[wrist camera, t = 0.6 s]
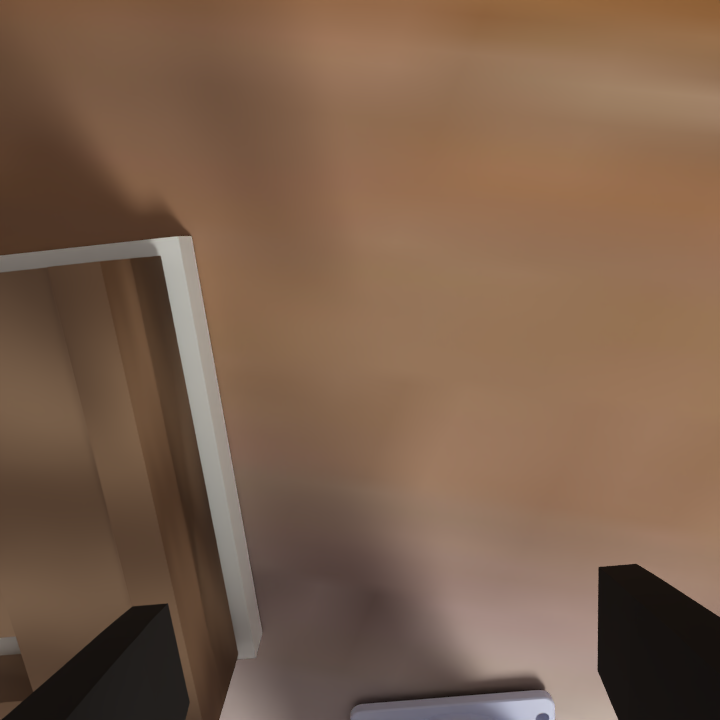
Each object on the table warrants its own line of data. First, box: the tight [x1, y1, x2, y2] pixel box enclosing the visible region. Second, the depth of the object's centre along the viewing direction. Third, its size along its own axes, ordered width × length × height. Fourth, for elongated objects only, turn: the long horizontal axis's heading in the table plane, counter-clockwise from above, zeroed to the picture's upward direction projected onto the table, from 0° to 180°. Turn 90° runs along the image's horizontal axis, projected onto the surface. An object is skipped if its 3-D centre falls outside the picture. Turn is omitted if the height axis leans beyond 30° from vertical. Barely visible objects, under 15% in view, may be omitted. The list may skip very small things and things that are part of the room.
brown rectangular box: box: [0, 256, 238, 720], centre depth 15 cm, size 14×9×4 cm, turn 6°
